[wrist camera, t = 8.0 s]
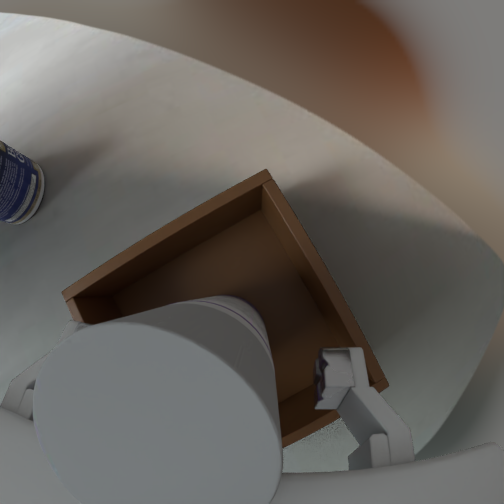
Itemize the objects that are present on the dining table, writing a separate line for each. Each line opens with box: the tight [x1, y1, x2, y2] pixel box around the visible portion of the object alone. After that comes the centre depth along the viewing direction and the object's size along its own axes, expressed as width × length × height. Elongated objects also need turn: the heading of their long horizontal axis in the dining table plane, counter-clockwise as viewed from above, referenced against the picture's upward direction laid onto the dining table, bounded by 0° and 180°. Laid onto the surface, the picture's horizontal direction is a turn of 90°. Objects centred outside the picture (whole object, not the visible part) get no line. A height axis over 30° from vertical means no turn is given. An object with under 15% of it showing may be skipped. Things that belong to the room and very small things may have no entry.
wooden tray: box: [62, 169, 389, 448], centre depth 17 cm, size 12×12×5 cm
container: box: [33, 295, 283, 504], centre depth 11 cm, size 5×5×15 cm
